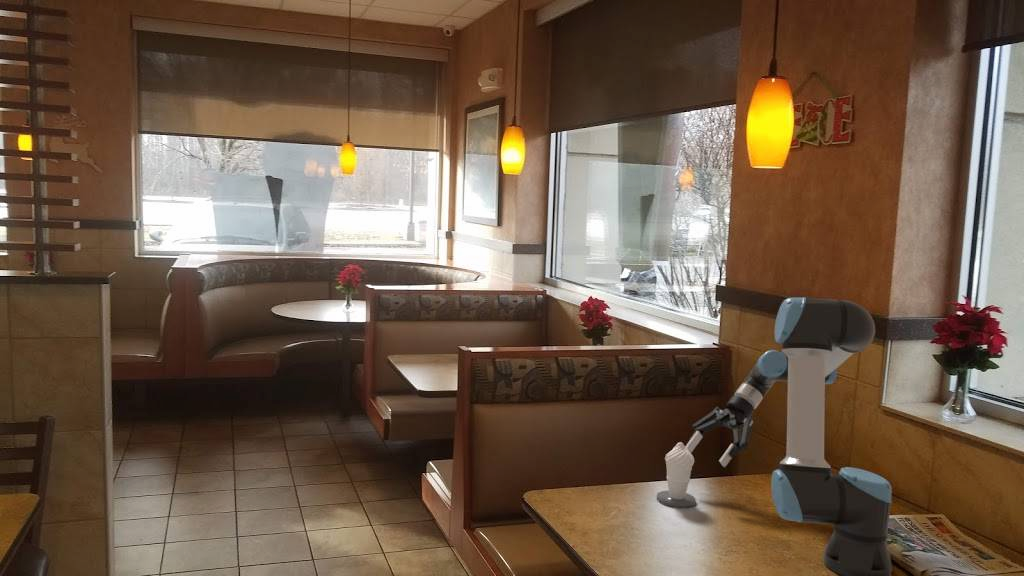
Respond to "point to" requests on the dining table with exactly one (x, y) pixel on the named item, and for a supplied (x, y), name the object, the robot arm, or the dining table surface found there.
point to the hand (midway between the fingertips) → (704, 457)
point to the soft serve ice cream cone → (678, 470)
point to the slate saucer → (676, 500)
